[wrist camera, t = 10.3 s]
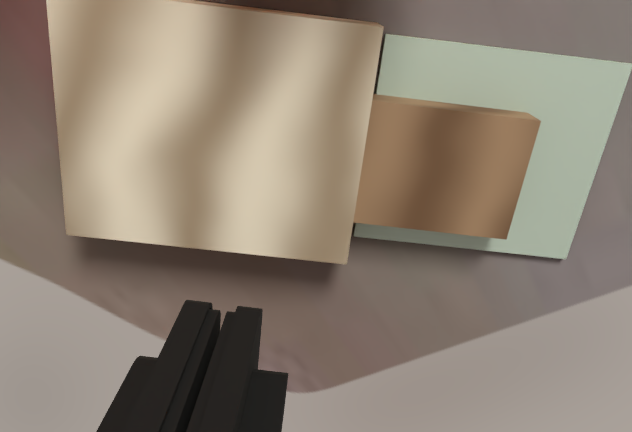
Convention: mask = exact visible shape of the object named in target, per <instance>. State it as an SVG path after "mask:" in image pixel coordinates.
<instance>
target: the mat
mask: <svg viewBox="0 0 632 432" xmlns="http://www.w3.org/2000/svg"><path fill="white" fill-rule="evenodd" d="M631 69H632V64H630V63H623V62H615V61H607V60H598V59H590V58H582V57H574V56H565V55H557V54H549V53H541V52H532V51H524V50H516V49H508V48H499V47H491V46H483V45H475V44H467V43H458V42H450V41H442V40H434V39H425V38H417V37H409V36H401V35H392V34H385V37H384V43H383V50H382V56H381V62H380V69H379V75H378V81H377V88H376V94H378V95H386V96H395V97H403V98H411V99H419V100H428V101H436V102H444V103H452V104H461V105H469V106H477V107H485V108H494V109H502V110H510V111H518V112H527V113H529V114H531V115H532V116H534V117H535V118H537V119H539V120H540V121H541V123H540V127H539V130H538V134H537V137H536V140H535V144H534V147H533V151H532V154H531V157H530V161H529V164H528V168H527V171H526V175H525V178H524V181H523V185H522V188H521V192H520V195H519V198H518V202H517V205H516V209H515V212H514V215H513V219H512V222H511V226H510V229H509V233H508V236H507V239H506V240H505V239H496V238H487V237H478V236H469V235H460V234H452V233H443V232H434V231H425V230H416V229H407V228H398V227H389V226H380V225H371V224H362V223H355V227H354V236H355V237H364V238H373V239H383V240H392V241H401V242H410V243H420V244H429V245H438V246H448V247H457V248H466V249H476V250H485V251H494V252H503V253H513V254H522V255H531V256H541V257H550V258H559V259H566V258H567V255H568V252H569V249H570V246H571V243H572V240H573V237H574V234H575V232H576V229H577V226H578V223H579V220H580V217H581V214H582V211H583V208H584V206H585V203H586V200H587V197H588V194H589V191H590V188H591V185H592V182H593V179H594V177H595V174H596V171H597V168H598V165H599V162H600V159H601V156H602V153H603V150H604V148H605V145H606V142H607V139H608V136H609V133H610V130H611V127H612V124H613V121H614V119H615V116H616V113H617V110H618V107H619V104H620V101H621V98H622V95H623V92H624V90H625V87H626V84H627V81H628V78H629V75H630V72H631Z"/></svg>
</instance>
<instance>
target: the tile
mask: <svg viewBox="0 0 632 432" xmlns="http://www.w3.org/2000/svg"><path fill="white" fill-rule="evenodd" d="M540 123H541V121H540V120H539V119H537V118H535V117H534V116H532V115H531V114H529V113H527V112H518V111H510V110H502V109H494V108H485V107H477V106H469V105H461V104H452V103H444V102H436V101H428V100H419V99H411V98H403V97H395V96H386V95H378V94H373V99H372V105H371V112H370V118H369V124H368V131H367V137H366V144H365V150H364V157H363V163H362V169H361V176H360V182H359V189H358V195H357V201H356V208H355V214H354V221H353V223H362V224H371V225H380V226H389V227H398V228H407V229H416V230H425V231H434V232H443V233H452V234H460V235H469V236H478V237H487V238H496V239H505V240H506V239H507V236H508V233H509V229H510V226H511V222H512V219H513V215H514V212H515V209H516V205H517V202H518V198H519V195H520V192H521V188H522V185H523V181H524V178H525V175H526V171H527V168H528V164H529V161H530V157H531V154H532V151H533V147H534V144H535V140H536V137H537V134H538V130H539V127H540Z"/></svg>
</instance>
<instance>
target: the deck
mask: <svg viewBox="0 0 632 432" xmlns="http://www.w3.org/2000/svg"><path fill="white" fill-rule="evenodd" d="M46 3H47V14H48V26H49V38H50V49H51V61H52V73H53V85H54V96H55V108H56V120H57V131H58V143H59V155H60V167H61V178H62V190H63V202H64V213H65V225H66V235H72V236H82V237H91V238H101V239H110V240H120V241H129V242H139V243H148V244H158V245H167V246H177V247H186V248H196V249H205V250H214V251H224V252H233V253H243V254H252V255H262V256H271V257H281V258H290V259H300V260H309V261H319V262H328V263H338V264H347V259H348V253H349V246H350V240H351V233H352V227H353V221H354V214H355V208H356V201H357V195H358V189H359V182H360V176H361V169H362V163H363V157H364V150H365V144H366V137H367V131H368V124H369V118H370V112H371V105H372V99H373V92H374V86H375V80H376V73H377V67H378V60H379V54H380V48H381V41H382V35H383V28H384V27H383V26H381V25H380V24H379V23H376V22H368V21H360V20H351V19H343V18H335V17H327V16H319V15H310V14H302V13H294V12H286V11H278V10H269V9H261V8H253V7H245V6H237V5H228V4H220V3H212V2H204V1H196V0H46Z"/></svg>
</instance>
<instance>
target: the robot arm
mask: <svg viewBox="0 0 632 432" xmlns="http://www.w3.org/2000/svg"><path fill="white" fill-rule="evenodd" d="M220 317H221V313H220V310H212V303H209V302H200V301H192V300H186V301H185V303H184V305H183V307H182V309H181V311H180V313H179V315H178V317H177V319H176V321H175V323H174V325H173V327H172V330H171V332H170V334H169V336H168V338H167V340H166V342H165V344H164V346H163V349H162V351H161V353H160V355H159V357H158V358H154V357H145V356H139V357H138V358H137V359H136V360H135V361H134V363H133V365H132V366H131V368H130V370H129V372H128V374H127V376H126V378H125V380H124V381H123V383H122V385H121V387H120V389H119V391H118V393H117V394H116V396H115V398H114V400H113V402H112V404H111V406H110V408H109V409H108V411H107V413H106V415H105V417H104V419H103V421H102V422H101V424H100V426H99V428H98V430H97V432H281V430H282V422H283V414H284V406H285V397H286V389H287V380H288V373H282V372H273V371H265V370H258V359H259V347H260V336H261V324H262V309H259V308H251V307H243V306H238V307H237V309H236V312H227V313H226V316H225V319H224V322H223V325H222V327H221V330H220Z"/></svg>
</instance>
